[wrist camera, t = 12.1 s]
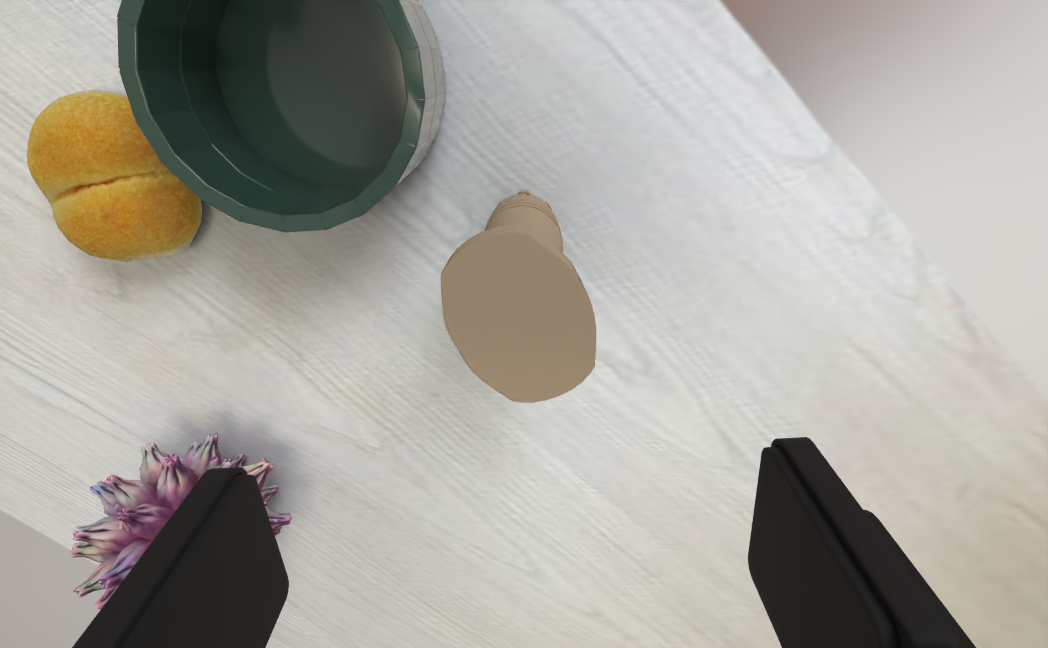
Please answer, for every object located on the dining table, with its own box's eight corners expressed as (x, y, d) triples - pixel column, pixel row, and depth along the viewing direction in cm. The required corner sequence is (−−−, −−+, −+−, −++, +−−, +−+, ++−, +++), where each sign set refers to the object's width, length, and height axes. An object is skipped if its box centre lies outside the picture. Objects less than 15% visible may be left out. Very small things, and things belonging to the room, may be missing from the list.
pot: (171, -52, 29) (69, -84, 22) (428, -72, 28) (399, -111, 22) (239, 205, 34) (172, 239, 27) (457, 191, 33) (440, 222, 27)
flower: (215, 529, 46) (88, 434, 39) (344, 481, 43) (231, 371, 36) (144, 691, 36) (-39, 603, 30) (303, 644, 34) (141, 535, 27)
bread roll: (167, 78, 31) (118, 80, 27) (227, 241, 35) (192, 262, 31) (21, 103, 32) (-45, 109, 28) (96, 261, 35) (46, 284, 31)
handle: (537, 146, 32) (543, 209, 19) (584, 248, 35) (620, 370, 21) (460, 185, 33) (411, 272, 19) (511, 281, 35) (499, 420, 22)
